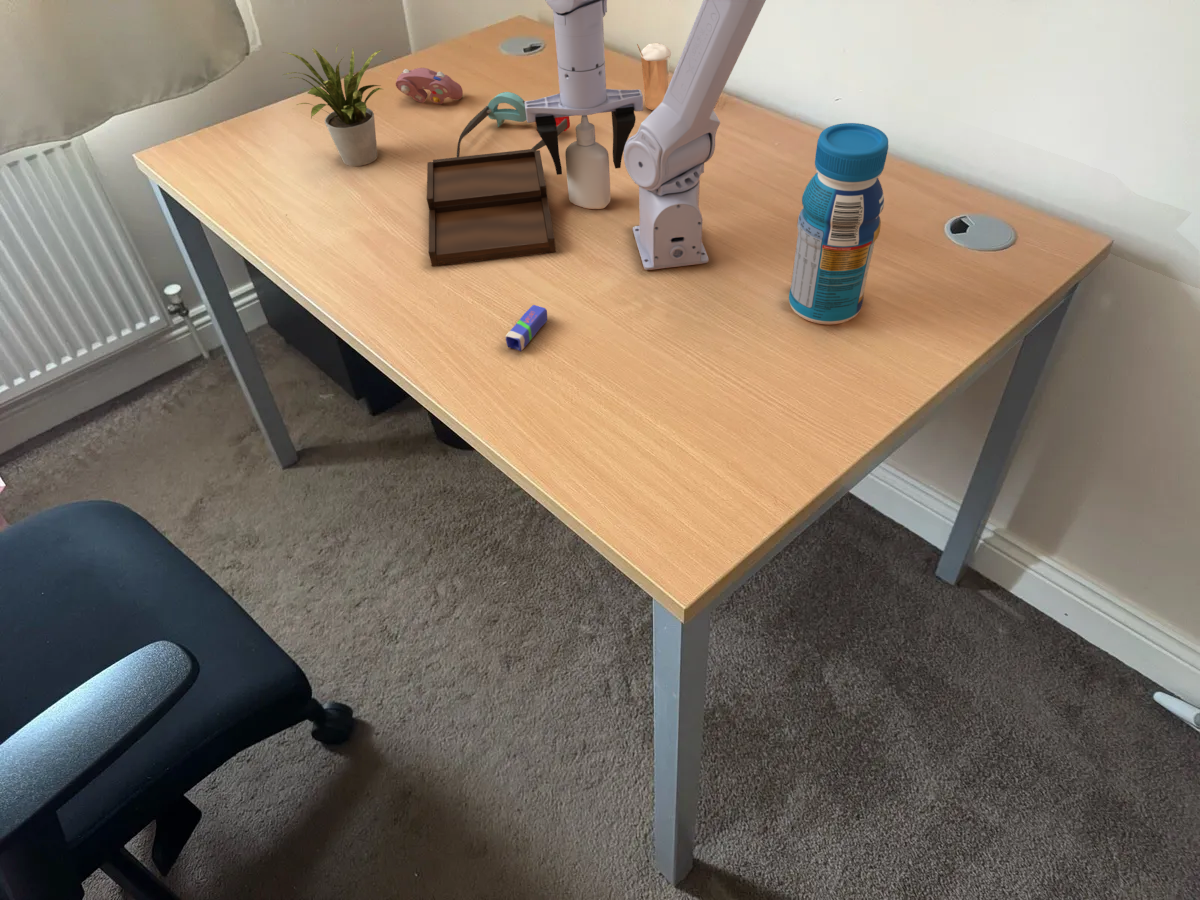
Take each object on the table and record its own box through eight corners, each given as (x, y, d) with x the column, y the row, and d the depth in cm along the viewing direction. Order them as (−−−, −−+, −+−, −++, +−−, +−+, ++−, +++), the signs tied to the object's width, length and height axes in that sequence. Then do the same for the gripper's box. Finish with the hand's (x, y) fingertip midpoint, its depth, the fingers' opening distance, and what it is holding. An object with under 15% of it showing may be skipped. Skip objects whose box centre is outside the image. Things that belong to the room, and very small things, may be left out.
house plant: (285, 178, 123) (246, 64, 111) (328, 134, 132) (296, 24, 121) (375, 186, 120) (345, 69, 109) (412, 140, 130) (388, 28, 118)
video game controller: (404, 110, 141) (387, 80, 134) (412, 87, 142) (396, 56, 135) (459, 115, 138) (444, 85, 132) (466, 92, 140) (452, 61, 133)
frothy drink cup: (631, 104, 134) (630, 39, 127) (661, 97, 136) (662, 31, 128) (644, 116, 131) (644, 49, 124) (675, 108, 133) (676, 41, 125)
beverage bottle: (771, 306, 97) (791, 139, 82) (815, 274, 101) (842, 109, 86) (834, 337, 93) (866, 167, 78) (877, 302, 96) (916, 134, 82)
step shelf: (555, 252, 107) (553, 224, 104) (431, 266, 106) (425, 238, 103) (542, 174, 120) (539, 147, 118) (432, 186, 120) (426, 160, 117)
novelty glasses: (575, 132, 129) (572, 100, 125) (529, 179, 120) (525, 145, 116) (495, 119, 133) (491, 87, 130) (445, 163, 124) (439, 130, 121)
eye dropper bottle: (591, 188, 117) (586, 103, 108) (615, 205, 114) (611, 118, 105) (564, 199, 115) (557, 113, 107) (588, 216, 112) (582, 129, 103)
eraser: (506, 348, 94) (504, 334, 93) (534, 318, 98) (532, 303, 96) (521, 353, 93) (519, 338, 92) (548, 322, 97) (547, 308, 95)
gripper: (635, 43, 104) (637, 147, 114) (518, 55, 104) (530, 159, 113) (645, 65, 100) (646, 173, 109) (522, 78, 99) (534, 185, 109)
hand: (587, 167), depth 111 cm, fingers open, 7 cm apart
